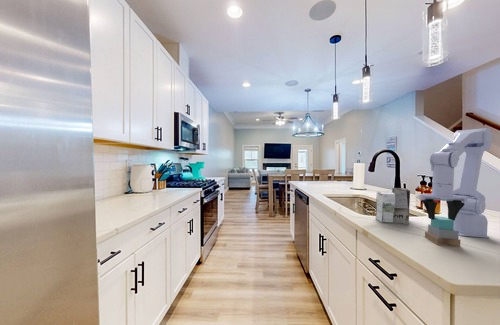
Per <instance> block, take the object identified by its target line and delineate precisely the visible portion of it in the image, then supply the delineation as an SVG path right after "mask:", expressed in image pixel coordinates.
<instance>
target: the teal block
mask: <svg viewBox="0 0 500 325" xmlns="http://www.w3.org/2000/svg"><path fill="white" fill-rule="evenodd" d="M430 224H431V225H432V226H434V227H436V228H438V229H447V230H453V228H454V220H451V219H449V218H448V217H446V216H436V215H435V219H434V220H432V219H430Z"/></svg>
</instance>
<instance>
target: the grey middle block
mask: <svg viewBox="0 0 500 325" xmlns="http://www.w3.org/2000/svg"><path fill="white" fill-rule="evenodd" d="M427 231H428V232H429V233H431V234H433V235H435V236H436V237H438V238H447V239H459V237H460V235H459V231H457V230H455V229H453V230H447V229H438V228H436V227H434V226H432V225H431V223H430V224H427Z"/></svg>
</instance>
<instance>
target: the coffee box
mask: <svg viewBox="0 0 500 325" xmlns="http://www.w3.org/2000/svg"><path fill="white" fill-rule="evenodd" d="M391 192H392V193H394V194H395V208H394V223H398V224H402V223H403V224H404V225H409V222H410V205H411V204H410V203H411V202H410V200H411V190H409V189H408V188H404V187H392V188H391Z"/></svg>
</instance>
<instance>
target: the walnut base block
mask: <svg viewBox="0 0 500 325" xmlns="http://www.w3.org/2000/svg"><path fill="white" fill-rule="evenodd" d="M424 238H425V239H426V240H428V241H430V242H431V243H433V244H435V245H437V246H443V247H444V246H446V247H456V248H460V247H461V239H459V238H458V239H447V238H438V237H436V236H435V235H433V234H431V233H429V232H428V230H425V231H424Z"/></svg>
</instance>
